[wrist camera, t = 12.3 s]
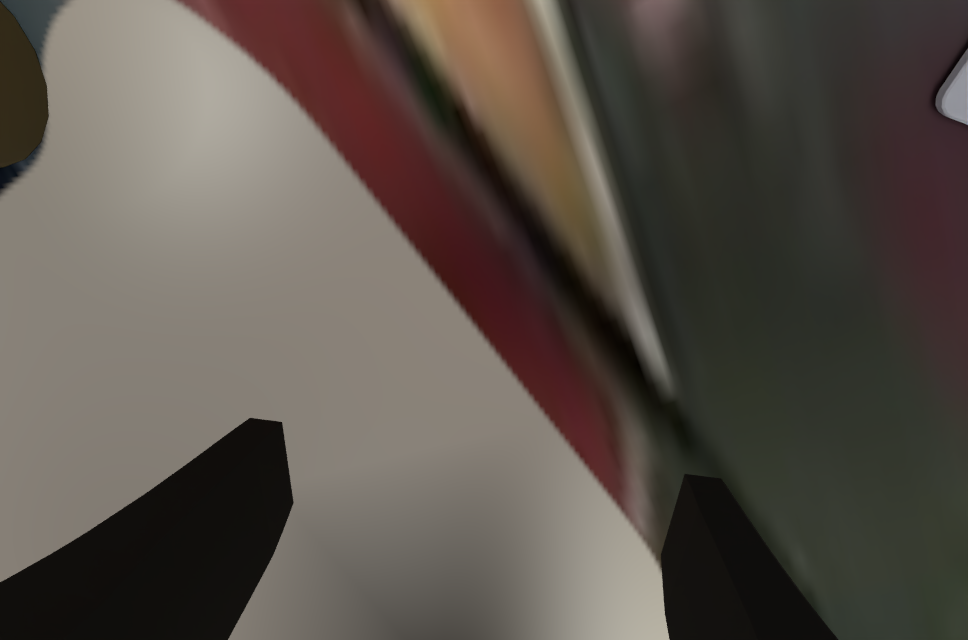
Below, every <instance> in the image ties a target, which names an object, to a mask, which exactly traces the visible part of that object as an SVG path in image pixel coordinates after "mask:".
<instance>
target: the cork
mask: <svg viewBox="0 0 968 640" xmlns="http://www.w3.org/2000/svg"><path fill="white" fill-rule="evenodd" d="M48 117H49V115H48V98H47V85H46V82H45V79H44V76H43V73H42V70H41V67H40V64H39V61H38V58H37V55H36V52H35V50H34V49H33V47H32V45H31V44H30V42H29V40H28V39H27V37H26V35H25V34H24V32H23V30H22V29H21V27H20V26H19V24H18V22H17V21H16V19H15V17H14V16H13V15H12V14H11V13H10V12H9V11H8V10H7V8H6V7H5V6H4V5H3V4H2V3H1V2H0V168H2V167H5V166H8V165H11V164H13V163H16V162H19V161H21V160H24V159H26V158H27V157H28V156H29V155H30V153H31V152H32V151H33V150H34V149H35V148H36V147H37V146H38V145H39V144H40V142H41V140H42V137H43V134H44V130H45V127H46V124H47V120H48Z"/></svg>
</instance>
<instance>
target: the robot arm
mask: <svg viewBox="0 0 968 640" xmlns="http://www.w3.org/2000/svg"><path fill="white" fill-rule="evenodd" d="M936 107H937V110H938V112H940V113H941V114H942V115H944V116H946V117H949V118H951V119H954V120H956V121H959V122H962V123H964V124H967V125H968V49H967V50H966V52H965V53H964V54H963V56H962V57H961V59H960V60H959V62H958V63H957V65H956V66H955V68H954V69H953V71H952V72H951V73H950V75H949V76H948V78H947V79H946V81H945V82H944V84H943V85H942V87H941V88H940V90H939V92H938V94H937V96H936ZM292 505H293V496H292V489H291V482H290V475H289V468H288V461H287V454H286V447H285V440H284V433H283V426H282V422H277V421H270V420H262V419H254V418H249V419H248V420H247V421H245V422H244V423H242V424H241V425H239V426H238V427H237V428H235V429H234V430H233V431H231V432H230V433H228V434H227V435H226V436H224V437H223V438H222V439H220V440H219V441H217V442H216V443H215V444H213V445H212V446H211V447H209V448H208V449H207V450H206V451H204V452H203V453H201V454H200V455H199V456H197V457H196V458H194V459H193V460H192V461H190V462H189V463H188V464H186V465H185V466H183V467H182V468H181V469H179V470H178V471H177V472H175V473H174V474H172V475H171V476H170V477H168V478H167V479H165V480H164V481H163V482H161V483H160V484H158V485H157V486H156V487H154V488H153V489H151V490H150V491H149V492H147V493H146V494H144V495H143V496H141V497H140V498H138V499H137V500H135V501H134V502H132V503H131V504H129V505H128V506H126V507H124V508H123V509H122V510H120V511H118V512H117V513H115V514H114V515H112V516H111V517H109V518H108V519H106V520H105V521H103V522H102V523H100V524H99V525H97V526H96V527H94V528H93V529H91V530H90V531H88V532H87V533H85V534H83V535H82V536H80V537H79V538H77V539H75V540H74V541H72V542H71V543H69V544H67V545H65V546H64V547H62V548H60V549H59V550H57V551H55V552H54V553H52V554H50V555H48V556H47V557H45V558H43V559H41V560H40V561H38V562H36V563H34V564H32V565H31V566H29V567H27V568H25V569H24V570H22V571H20V572H18V573H17V574H15V575H13V576H11V577H10V578H7V579H6V580H4V581H2V582H0V640H228V638H229V636H230V635H231V633H232V631H233V629H234V627H235V625H236V623H237V622H238V620H239V618H240V616H241V614H242V613H243V611H244V609H245V607H246V605H247V603H248V601H249V600H250V598H251V596H252V594H253V592H254V590H255V588H256V586H257V585H258V583H259V581H260V579H261V577H262V575H263V573H264V572H265V570H266V568H267V566H268V564H269V562H270V560H271V558H272V556H273V554H274V552H275V549H276V547H277V544H278V542H279V539H280V537H281V534H282V532H283V529H284V527H285V524H286V521H287V519H288V516H289V513H290V511H291V508H292ZM661 562H662V579H663V593H664V606H665V616H666V622H667V628H668V633H669V639H670V640H838V639H837V637H836V636H835V635H834V634H833V633H832V631H831V630H830V629H829V628H828V626H827V625H826V624H825V623H824V621H823V620H822V619H821V618H820V616H819V615H818V614H817V612H816V611H815V610H814V609H813V607H812V606H811V605H810V603H809V602H808V601H807V600H806V598H805V597H804V596H803V594H802V593H801V591H800V590H799V589H798V587H797V586H796V585H795V583H794V582H793V581H792V579H791V578H790V577H789V575H788V574H787V573H786V571H785V570H784V569H783V567H782V566H781V565H780V563H779V562H778V560H777V559H776V557H775V556H774V555H773V553H772V552H771V550H770V549H769V548H768V546H767V545H766V543H765V542H764V540H763V539H762V538H761V536H760V535H759V533H758V532H757V530H756V529H755V527H754V526H753V524H752V523H751V522H750V520H749V519H748V517H747V516H746V514H745V513H744V511H743V510H742V508H741V507H740V505H739V504H738V502H737V501H736V499H735V498H734V496H733V495H732V493H731V492H730V490H729V489H728V487H727V486H726V484H725V483H724V482H723V481H722V479H719V478H711V477H704V476H696V475H688V474H685V475H684V478H683V482H682V485H681V489H680V492H679V495H678V499H677V502H676V505H675V509H674V512H673V516H672V519H671V522H670V526H669V529H668V533H667V536H666V539H665V543H664V546H663V550H662V553H661Z"/></svg>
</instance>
